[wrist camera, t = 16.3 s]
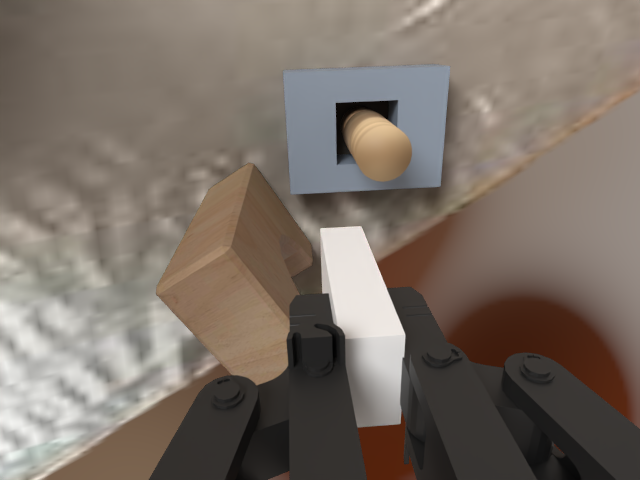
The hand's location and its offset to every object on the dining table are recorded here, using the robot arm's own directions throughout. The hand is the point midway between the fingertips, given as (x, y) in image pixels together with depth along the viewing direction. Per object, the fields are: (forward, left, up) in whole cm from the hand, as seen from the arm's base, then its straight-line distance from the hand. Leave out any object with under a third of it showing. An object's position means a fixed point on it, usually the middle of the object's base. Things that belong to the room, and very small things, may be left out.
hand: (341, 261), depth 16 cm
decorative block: (+9, -5, -29) cm, 30 cm away
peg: (0, +5, -28) cm, 29 cm away
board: (0, +5, -28) cm, 29 cm away
